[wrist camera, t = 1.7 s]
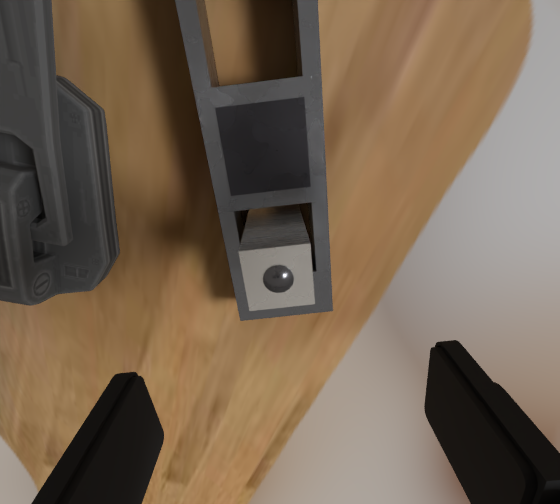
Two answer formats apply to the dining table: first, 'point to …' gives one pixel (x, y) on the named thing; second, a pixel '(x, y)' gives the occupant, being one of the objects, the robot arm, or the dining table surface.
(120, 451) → the robot arm
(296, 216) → the grey tall square block
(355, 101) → the dining table surface
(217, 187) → the rail
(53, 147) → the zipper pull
